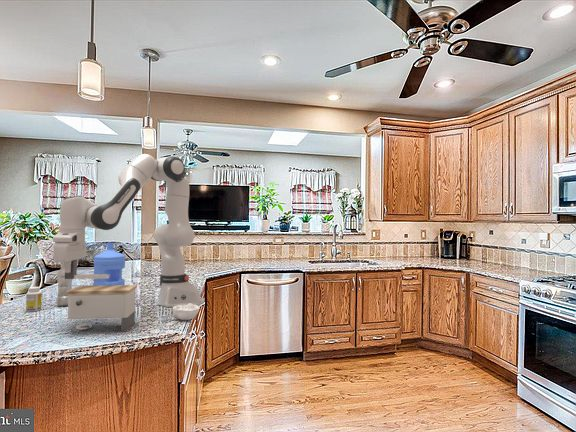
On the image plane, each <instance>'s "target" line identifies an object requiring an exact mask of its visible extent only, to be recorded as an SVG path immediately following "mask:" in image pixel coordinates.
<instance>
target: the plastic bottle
mask: <svg viewBox="0 0 576 432" xmlns="http://www.w3.org/2000/svg"><path fill="white" fill-rule="evenodd" d="M56 278H57V294H56V300H55V301H56V306H59V307H60V306H61V307H66V306H67V307H68V294H66V291H69V290H71V289H72V285H73V284H72V283H73V279H65V267H64V262H63V263H60V269H59V270H58V272H57V273H56Z"/></svg>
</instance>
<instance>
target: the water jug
mask: <svg viewBox="0 0 576 432" xmlns="http://www.w3.org/2000/svg"><path fill="white" fill-rule="evenodd" d="M125 267H126V255H125V254H123V253H121V252H118V251H116V250H114V242H107V245H106V250H105V251H102V252H100V253H98V254H96V255H94V257H93V274H110V278H108V279H93V285H92V286H106V285H125V279H123V269H125Z"/></svg>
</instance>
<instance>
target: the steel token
mask: <svg viewBox="0 0 576 432" xmlns="http://www.w3.org/2000/svg"><path fill="white" fill-rule="evenodd" d="M92 325H93V324H92V323H88V322H87V323H81V324H78V325H76V326H75V331H77V332H86V331H90V330H91V329H92V328H93V327H92Z"/></svg>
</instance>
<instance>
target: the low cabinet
mask: <svg viewBox="0 0 576 432" xmlns="http://www.w3.org/2000/svg"><path fill="white" fill-rule="evenodd" d="M137 288H138V285H137V284H126V285H106V286H93V285H79V286H76V287H74V288H71V290H69V291H66V294H68V305H67V320H91V319H92V320H93V319H95V320H96V319H120V318H121V325H120V327H121V329H120V330H121V332H128V331H129V330H130V329H131V328H132V327H133V326H134V324H135V318H136V317H135V316H136V315H135V313H136V312H135V311H136V289H137Z"/></svg>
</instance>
